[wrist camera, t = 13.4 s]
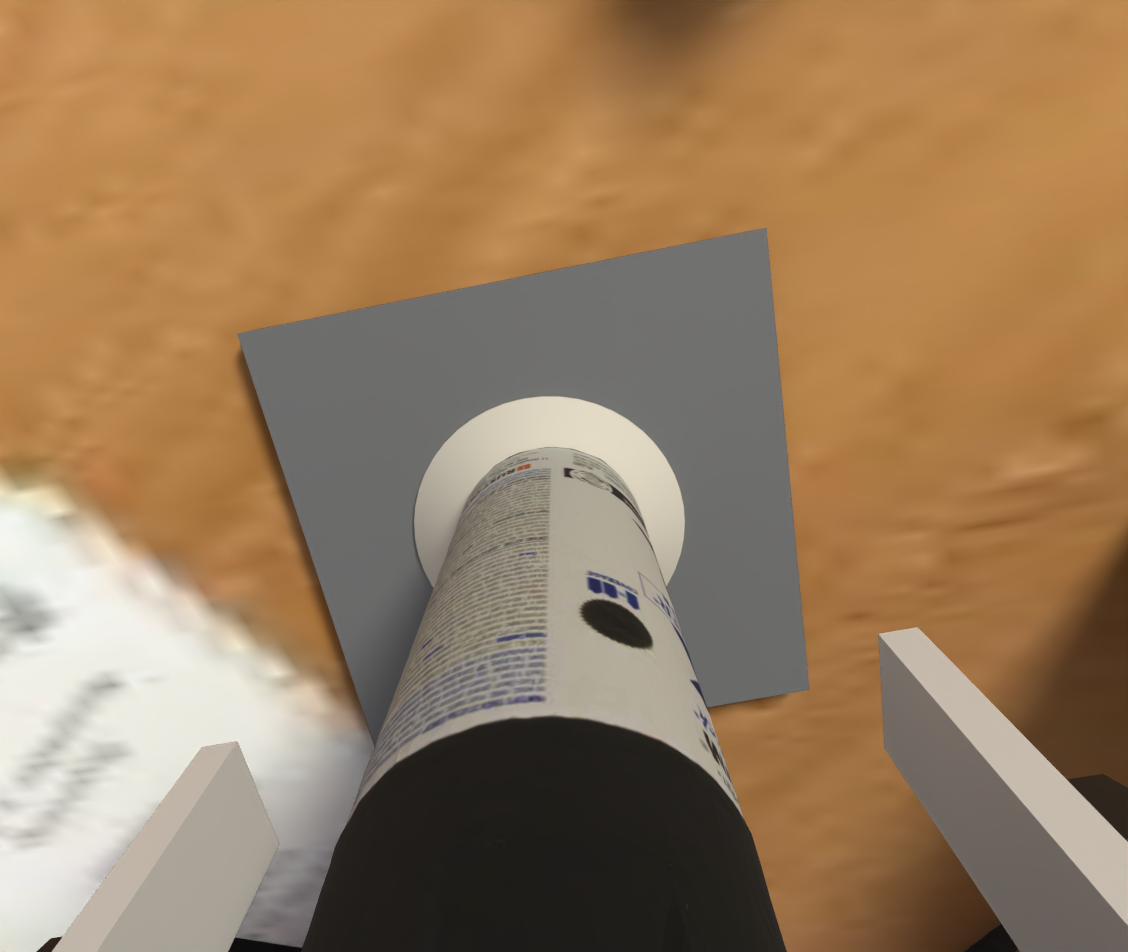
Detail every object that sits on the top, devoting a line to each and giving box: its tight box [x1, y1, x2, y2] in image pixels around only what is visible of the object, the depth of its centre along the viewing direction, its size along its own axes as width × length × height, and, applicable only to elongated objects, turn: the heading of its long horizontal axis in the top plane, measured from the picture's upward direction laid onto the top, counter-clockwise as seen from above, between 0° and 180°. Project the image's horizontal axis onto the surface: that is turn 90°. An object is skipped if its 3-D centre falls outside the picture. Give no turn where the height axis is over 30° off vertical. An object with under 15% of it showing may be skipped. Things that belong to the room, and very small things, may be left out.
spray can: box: [301, 447, 787, 952], centre depth 15 cm, size 7×7×20 cm
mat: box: [237, 228, 809, 746], centre depth 25 cm, size 18×18×1 cm
